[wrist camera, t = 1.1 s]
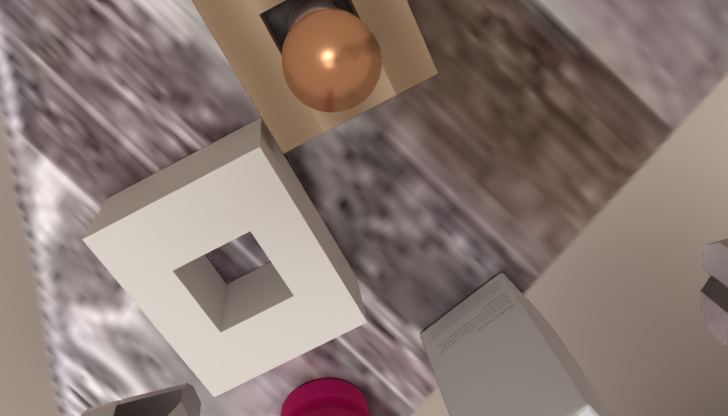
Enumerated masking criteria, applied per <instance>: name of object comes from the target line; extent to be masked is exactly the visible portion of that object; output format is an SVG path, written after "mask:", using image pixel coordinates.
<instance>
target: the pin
mask: <svg viewBox="0 0 728 416" xmlns="http://www.w3.org/2000/svg"><path fill="white" fill-rule="evenodd" d="M287 32H288V34H287V36H286V39H285V41H284V44H283V49H282V68H283V74H284V77H285V80H286V83H287V85H288V87H289V89H290V90H291V92H292V93H293V94H294V95H295V97H296V98H297V99H298V100H300V101H301V102H302V103H303V104H305V105H306V106H308V107H310V108H312V109H315V110H318V111H322V112H329V113H333V112H342V111H346V110H349V109H351V108H354V107H356V106H357V105H359V104H360V103H362V102H363V101H364V100H365V99H366V98H367V97H368V96H369V95H370V94H371V93H372V91H373V90H374V88H375V87H376V85H377V83H378V80H379V77H380V74H381V68H382V55H381V50H380V46H379V44H378V41H377V39H376V37H375V35H374V34H373V32H372V31H371V30H370V29H369V28H368V26H367V25H366V24H365V23H364V22H363V21H362V20H360V19H359V18H358V17H356V16H355V15H353V14H351V13H349V12H347V11H344V10H340V9H339V8H338V7H337V6H336V5H335V4H334V3H333V2H332V1H331V0H299V1H297V2H296V3H295V4H294V5H293V7H292V8H291V10H290V12H289V14H288V17H287Z"/></svg>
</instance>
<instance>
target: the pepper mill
mask: <svg viewBox="0 0 728 416" xmlns="http://www.w3.org/2000/svg"><path fill="white" fill-rule="evenodd" d="M281 416H370V414H369V409H368V404H367V401H366V398H365V396H364V395H363V393H362V392H361V391H360V390H359V389H358V388H357V387H355V386H354V385H352V384H350V383H348V382H345V381H343V380H337V379H320V380H316V381H311V382H309V383H307V384H305V385H303V386H301V387H298V388H297V389H296V390H295V391H294V392H293V393H292V394H290V395H289V396H288V398H287V399H286V401H285V403H284V405H283V407H282V411H281Z"/></svg>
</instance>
